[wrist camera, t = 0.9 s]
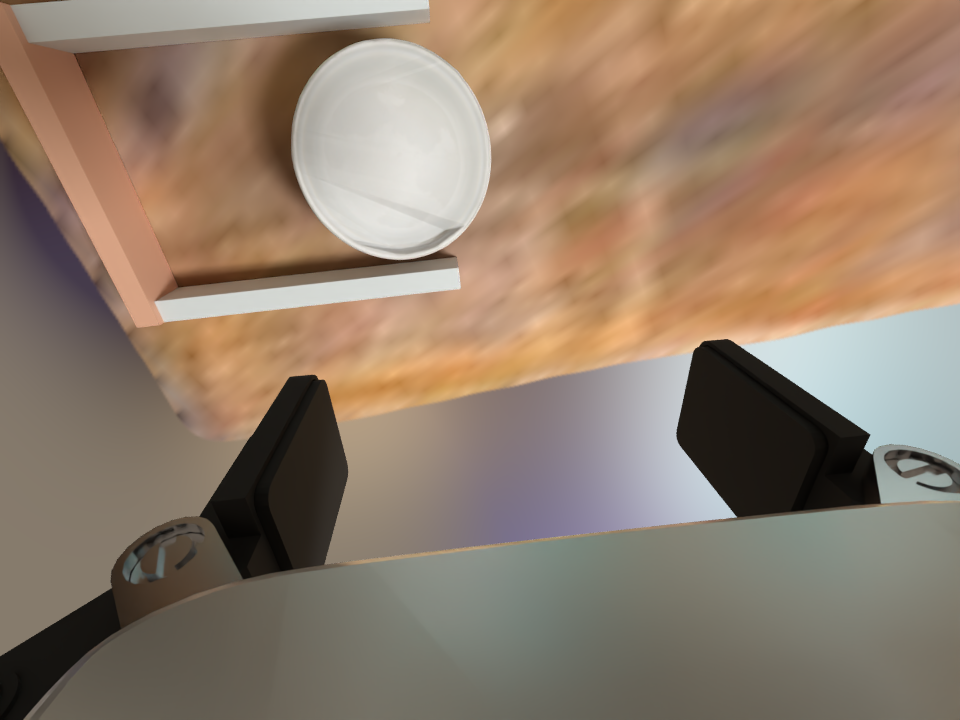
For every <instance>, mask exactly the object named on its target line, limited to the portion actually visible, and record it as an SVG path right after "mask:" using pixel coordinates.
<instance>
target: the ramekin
mask: <svg viewBox="0 0 960 720" xmlns="http://www.w3.org/2000/svg"><path fill="white" fill-rule="evenodd" d="M291 156H292V161H293V165H294V170H295V174H296V177H297V180H298V183H299V186H300V188H301V190H302V193H303V195H304V197H305V199H306V201H307V202H308V204H309V206H310V207H311V209H312V211H313V212H314V214H315V215H316V216H317V217H318V219H319V220H320V221H321V222H322V223H323V225H324V226H325V227H326V228H327V229H329V230H330V231H331V232H332V233H333V234H334V235H335V236H337V237H338V238H339V239H340V240H342V241H343V242H345V243H346V244H348V245H349V246H351V247H353V248H355V249H357V250H359V251H362V252H364V253H366V254H369V255H372V256H375V257H379V258H385V259H393V260H405V259H414V258H419V257H422V256H426V255H429V254H432V253H434V252H436V251H438V250H440V249H442V248H444V247H446V246H447V245H449V244H450V243H452V242H453V241H454V240H455V239H457V238H458V237H459V236H460V235H461V234H462V233H463V232H464V231H465V230H466V228H467V227H468V226H469V225H470V223H471V222H472V221H473V219H474V218H475V216H476V214H477V213H478V211H479V209H480V207H481V205H482V202H483V200H484V197H485V194H486V191H487V187H488V183H489V177H490V169H491V146H490V138H489V133H488V128H487V124H486V121H485V117H484V114H483V112H482V109H481V107H480V105H479V103H478V101H477V99H476V97H475V95H474V93H473V91H472V90H471V88H470V87H469V85H468V84H467V83H466V81H465V80H464V79H463V77H462V76H461V75H460V73H459V72H458V71H457V70H456V69H455V68H454V67H452V66H451V65H450V64H449V63H448V62H446V61H445V60H444V59H443V58H441V57H440V56H438V55H437V54H435V53H434V52H432V51H430V50H428V49H426V48H424V47H422V46H420V45H417V44H415V43H412V42H408V41H404V40H398V39H390V38H380V39H372V40H364V41H361V42H357V43H354V44H352V45H349V46H347V47H345V48H343V49H342V50H340V51H338V52H336V53H335V54H333V55H332V56H330V57H329V58H328V59H326V60H325V61H324V62H323V63H322V64H321V65H320V66H319V67H318V68H317V70H316V71H315V72H314V73H313V75H312V76H311V77H310V79H309V80H308V82H307V84H306V85H305V87H304V89H303V91H302V93H301V95H300V97H299V100H298V103H297V106H296V109H295V114H294V117H293V123H292V135H291Z"/></svg>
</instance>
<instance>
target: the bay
mask: <svg viewBox="0 0 960 720" xmlns="http://www.w3.org/2000/svg"><path fill="white" fill-rule="evenodd" d="M419 23H430V12H429V1H428V0H67V1H54V2H42V3H30V4H18V5H8V4H5V3H2V2H0V66H1V68H2V70H3V72H4V74H5V76H6V78H7V80H8V82H9V83H10V85H11V87H12V89H13V91H14V93H15V95H16V97H17V99H18V101H19V103H20V104H21V106H22V108H23V110H24V112H25V114H26V116H27V118H28V120H29V122H30V124H31V126H32V127H33V129H34V131H35V133H36V135H37V137H38V139H39V141H40V143H41V145H42V147H43V148H44V150H45V152H46V154H47V156H48V158H49V160H50V162H51V164H52V166H53V168H54V170H55V171H56V173H57V175H58V177H59V179H60V181H61V183H62V185H63V187H64V189H65V191H66V192H67V194H68V196H69V198H70V200H71V202H72V204H73V206H74V208H75V210H76V212H77V213H78V215H79V217H80V219H81V221H82V223H83V225H84V227H85V229H86V231H87V233H88V235H89V236H90V238H91V240H92V242H93V244H94V246H95V248H96V250H97V252H98V254H99V256H100V257H101V259H102V261H103V263H104V265H105V267H106V269H107V271H108V273H109V275H110V277H111V279H112V280H113V282H114V284H115V286H116V288H117V290H118V292H119V294H120V296H121V298H122V300H123V301H124V303H125V305H126V307H127V309H128V311H129V313H130V315H131V317H132V319H133V321H134V323H135V324H136V326H137V328H138V327H147V326H156V325H161V324H162V323H164V322H170V321H179V320H188V319H197V318H206V317H215V316H223V315H232V314H241V313H250V312H259V311H268V310H276V309H285V308H294V307H303V306H312V305H321V304H330V303H338V302H347V301H356V300H365V299H374V298H383V297H392V296H400V295H409V294H418V293H427V292H436V291H445V290H454V289H461V286H460V277H459V268H458V262H457V257H452V258H443V259H434V260H425V261H415V262H406V263H397V264H388V265H379V266H370V267H361V268H352V269H343V270H333V271H324V272H315V273H306V274H297V275H288V276H279V277H270V278H261V279H252V280H242V281H233V282H224V283H215V284H206V285H197V286H188V287H178V285H177V283H176V281H175V278H174V276H173V274H172V272H171V269H170V267H169V265H168V263H167V261H166V258H165V256H164V254H163V252H162V249H161V247H160V245H159V243H158V241H157V238H156V236H155V234H154V232H153V229H152V227H151V225H150V223H149V220H148V218H147V216H146V214H145V212H144V209H143V207H142V205H141V203H140V200H139V198H138V196H137V194H136V191H135V189H134V187H133V185H132V183H131V180H130V178H129V176H128V174H127V171H126V169H125V167H124V165H123V162H122V160H121V158H120V156H119V154H118V151H117V149H116V147H115V145H114V142H113V140H112V138H111V136H110V134H109V131H108V129H107V127H106V125H105V122H104V120H103V118H102V116H101V113H100V111H99V109H98V107H97V105H96V102H95V100H94V98H93V96H92V93H91V91H90V89H89V87H88V84H87V82H86V80H85V78H84V76H83V73H82V71H81V69H80V67H79V64H78V62H77V60H76V58H75V55H74V53H84V52H96V51H107V50H119V49H130V48H142V47H153V46H165V45H176V44H188V43H199V42H211V41H223V40H234V39H246V38H257V37H269V36H280V35H292V34H303V33H315V32H326V31H338V30H350V29H361V28H373V27H384V26H396V25H407V24H419Z"/></svg>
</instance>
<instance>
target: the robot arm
mask: <svg viewBox="0 0 960 720" xmlns="http://www.w3.org/2000/svg"><path fill="white" fill-rule="evenodd" d="M676 434H677V440H678V443H679V445H680V446H681V447H682V449H683V450H684V451H685V453H686V454H687V455H688V456H689V458H691V460H692V461H693V463H694V464H695V465H696V466H697V468H698V469H699V470H700V471H701V473H702V474H703V475H704V476H705V478H707V480H708V481H709V483H710V484H711V485H712V486H713V488H714V489H715V490H716V491H717V493H718V494H719V495H720V496H721V498H722V499H723V500H724V501H725V503H726V504H727V505H728V506H729V508H730V509H731V510H732V511H733V513H734V514H735V515H736V516H737V518H728V519H718V520H708V521H699V522H689V523H680V524H670V525H661V526H652V527H644V528H634V529H625V530H616V531H607V532H599V533H589V534H580V535H571V536H562V537H553V538H544V539H535V540H526V541H517V542H509V543H500V544H492V545H484V546H474V547H466V548H458V549H449V550H440V551H432V552H424V553H415V554H406V555H397V556H390V557H381V558H374V559H364V560H356V561H348V562H340V563H334V564H327V565H324V563H325V560H326V556H327V552H328V549H329V545H330V541H331V537H332V534H333V530H334V526H335V523H336V519H337V515H338V512H339V508H340V504H341V500H342V497H343V493H344V489H345V486H346V482H347V477H348V465H347V461H346V457H345V453H344V449H343V445H342V441H341V437H340V434H339V430H338V426H337V422H336V418H335V414H334V410H333V407H332V403H331V399H330V395H329V391H328V387H327V384H326V382H325V380H318V378H317V376H316V375H305V376H294V377H290V378H289V379H288V380H287V382H286V383H285V385H284V386H283V388H282V390H281V391H280V393H279V394H278V396H277V397H276V399H275V401H274V402H273V404H272V405H271V407H270V408H269V410H268V412H267V413H266V415H265V416H264V418H263V419H262V421H261V423H260V424H259V426H258V427H257V429H256V430H255V432H254V434H253V435H252V436H251V437H250V438H249V440H248V441H247V443H246V444H245V446H244V447H243V449H242V451H241V452H240V454H239V455H238V457H237V459H236V460H235V462H234V463H233V465H232V466H231V468H230V469H229V471H228V473H227V474H226V476H225V477H224V479H223V480H222V482H221V483H220V485H219V487H218V488H217V490H216V491H215V493H214V494H213V496H212V497H211V499H210V501H209V502H208V504H207V505H206V507H205V508H204V510H203V512H202V513H201V515H200V516H199V517H198V516H196V517H183V518H179V519H175V520H171V521H169V522H166V523H164V524H162V525H159V526H157V527H155V528H153V529H152V530H150V531H149V532H147V533H145V534H144V535H142V536H141V537H140V538H138V539H137V540H136V541H134V542H133V543H132V544H131V545H130V546H128V547H127V548H126V550H125V551H124V552H123V553H122V554H121V555H120V557H119V558H118V559H117V561H116V563H115V565H114V567H113V569H112V571H111V586H112V588H111V589H110V590H108V591H106V592H105V593H103V594H102V595H100V596H98V597H97V598H95V599H93V600H92V601H90V602H88V603H87V604H85V605H84V606H82V607H80V608H79V609H77V610H75V611H74V612H72V613H70V614H69V615H67V616H66V617H64V618H62V619H61V620H59V621H57V622H56V623H54V624H52V625H51V626H49V627H48V628H46V629H44V630H43V631H41V632H39V633H38V634H36V635H34V636H33V637H31V638H29V639H28V640H26V641H25V642H23V643H21V644H20V645H18V646H16V647H15V648H13V649H11V650H10V651H8V652H7V653H5V654H4V655H2V656H0V720H960V465H959V464H957V463H956V462H954V461H952V460H950V459H948V458H945V457H943V456H941V455H939V454H936V453H933V452H930V451H927V450H924V449H920V448H916V447H911V446H906V445H892V444H889V445H884V446H880V447H878V448H877V449H875V450H874V452H873V454H870V453H869V452H868V451H866V450H865V449H864V447H865V445H866V443H867V441H868V439H869V437H870V434H869V433H867V432H866V431H864V430H863V429H861V428H860V427H858V426H857V425H855V424H854V423H852V422H851V421H849V420H848V419H846V418H845V417H843V416H842V415H840V414H839V413H838V412H836V411H834V410H833V409H831V408H830V407H829V406H827V405H826V404H824V403H823V402H821V401H820V400H818V399H817V398H815V397H814V396H812V395H811V394H809V393H808V392H806V391H805V390H803V389H802V388H800V387H799V386H798V385H796V384H795V383H793V382H792V381H790V380H789V379H787V378H786V377H784V376H783V375H781V374H780V373H778V372H777V371H775V370H774V369H772V368H771V367H769V366H768V365H766V364H765V363H763V362H762V361H761V360H759V359H757V358H756V357H755V356H753V355H752V354H750V353H748V352H747V351H745V350H744V349H743V348H741V347H740V346H738V345H737V344H735V343H734V342H732V341H731V340H728V339H724V340H712V341H704V342H702V343H701V345H700V346H699V347H697V348H696V349H695V350H694V352H693V356H692V361H691V366H690V370H689V375H688V380H687V385H686V389H685V394H684V399H683V404H682V408H681V413H680V418H679V422H678V427H677V433H676Z"/></svg>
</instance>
